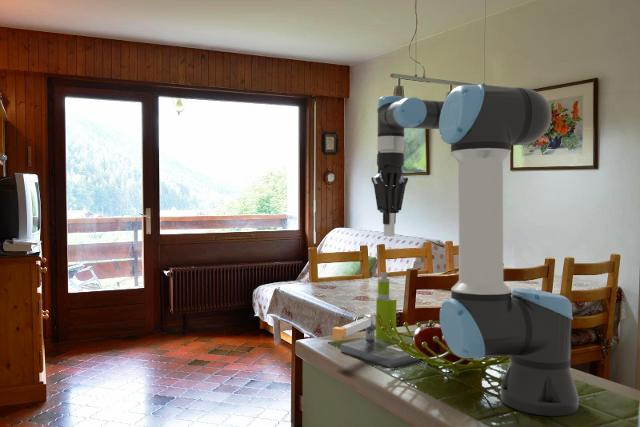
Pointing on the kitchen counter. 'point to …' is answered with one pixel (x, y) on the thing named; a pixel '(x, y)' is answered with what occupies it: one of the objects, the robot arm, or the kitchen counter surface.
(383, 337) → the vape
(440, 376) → the kitchen counter surface
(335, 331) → the swing arm
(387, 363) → the plate
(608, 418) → the kitchen counter surface
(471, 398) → the kitchen counter surface
